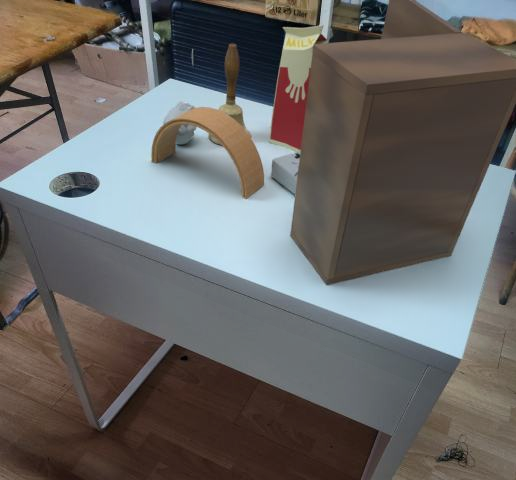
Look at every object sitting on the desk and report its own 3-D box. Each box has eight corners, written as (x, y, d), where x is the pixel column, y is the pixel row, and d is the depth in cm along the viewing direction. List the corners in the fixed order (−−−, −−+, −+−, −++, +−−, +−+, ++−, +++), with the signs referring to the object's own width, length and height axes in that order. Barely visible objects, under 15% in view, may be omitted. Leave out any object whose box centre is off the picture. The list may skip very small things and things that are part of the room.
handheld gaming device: (269, 178, 86) (271, 157, 84) (334, 158, 92) (338, 138, 90) (300, 203, 82) (304, 182, 79) (366, 180, 88) (371, 160, 85)
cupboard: (289, 236, 75) (313, 44, 56) (406, 213, 81) (463, 32, 62) (326, 285, 68) (367, 84, 49) (450, 256, 74) (531, 67, 55)
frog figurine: (206, 143, 94) (206, 105, 89) (177, 154, 90) (174, 115, 85) (186, 131, 97) (184, 94, 91) (157, 141, 93) (153, 103, 88)
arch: (172, 149, 91) (168, 92, 84) (264, 184, 85) (268, 126, 77) (151, 161, 88) (145, 103, 81) (245, 199, 81) (247, 139, 74)
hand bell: (229, 123, 100) (230, 33, 88) (260, 137, 97) (265, 45, 85) (199, 136, 95) (196, 43, 84) (231, 151, 92) (232, 56, 80)
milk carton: (327, 138, 98) (346, 21, 83) (303, 156, 92) (319, 34, 78) (288, 125, 101) (300, 10, 86) (263, 141, 96) (270, 21, 81)
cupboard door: (390, 147, 96) (432, -12, 77) (438, 207, 83) (503, 31, 64) (357, 149, 95) (391, -13, 76) (401, 210, 82) (455, 32, 63)
